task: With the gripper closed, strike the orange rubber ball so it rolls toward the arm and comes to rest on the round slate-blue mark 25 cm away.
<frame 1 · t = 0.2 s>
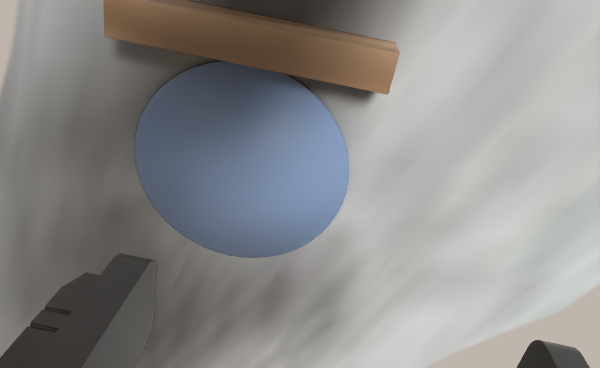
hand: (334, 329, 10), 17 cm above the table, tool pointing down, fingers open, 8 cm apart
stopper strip: (258, 34, 24), on the table
mark: (240, 169, 28), on the table
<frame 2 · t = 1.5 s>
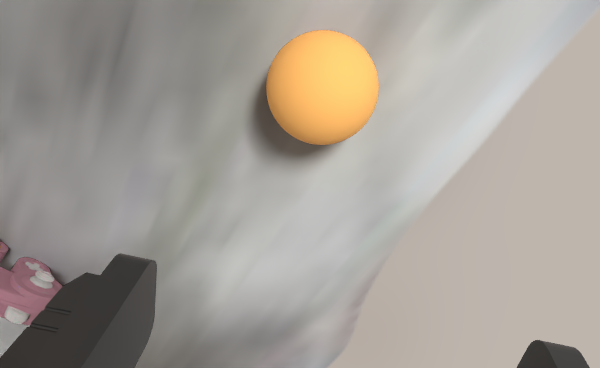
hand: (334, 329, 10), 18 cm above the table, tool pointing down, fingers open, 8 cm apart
ball: (322, 88, 23), on the table
video game controller: (19, 254, 34), on the table
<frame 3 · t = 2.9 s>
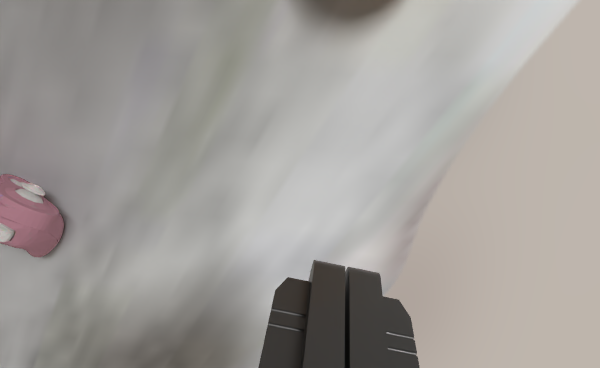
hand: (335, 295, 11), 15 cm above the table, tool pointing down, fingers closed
video game controller: (4, 174, 28), on the table
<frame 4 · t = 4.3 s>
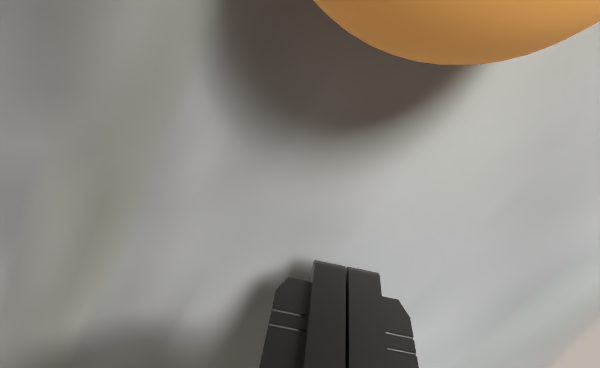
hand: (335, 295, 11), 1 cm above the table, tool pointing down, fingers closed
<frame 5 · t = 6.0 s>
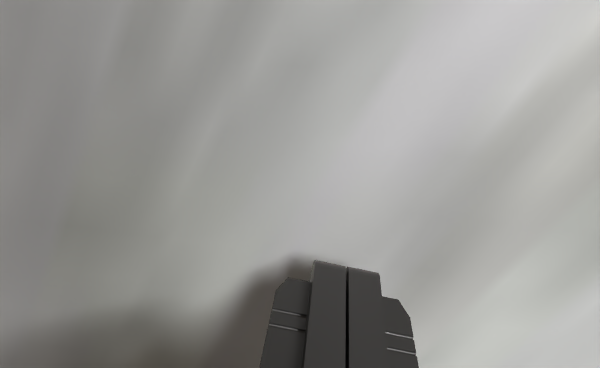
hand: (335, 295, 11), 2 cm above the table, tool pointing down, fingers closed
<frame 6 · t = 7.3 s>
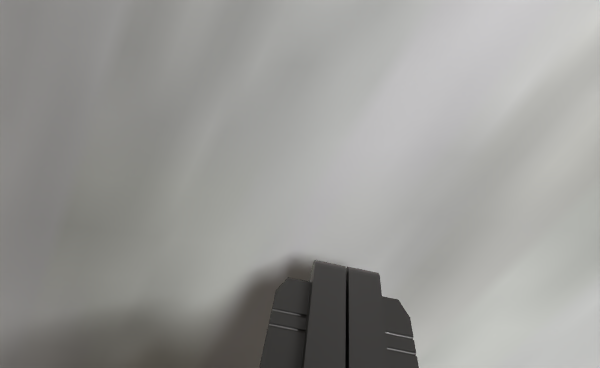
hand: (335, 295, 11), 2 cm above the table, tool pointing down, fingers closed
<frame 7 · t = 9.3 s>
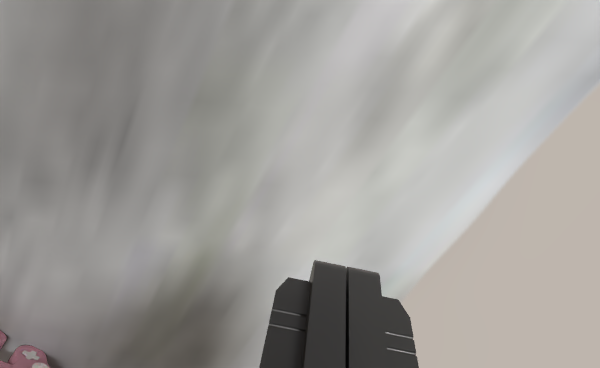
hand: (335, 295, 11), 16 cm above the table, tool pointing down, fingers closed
video game controller: (17, 341, 35), on the table
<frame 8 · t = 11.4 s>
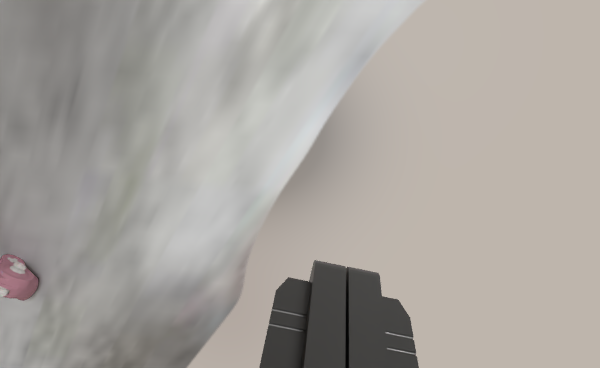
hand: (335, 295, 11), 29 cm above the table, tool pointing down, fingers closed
video game controller: (4, 252, 49), on the table
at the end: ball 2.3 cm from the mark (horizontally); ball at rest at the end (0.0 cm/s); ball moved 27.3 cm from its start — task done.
